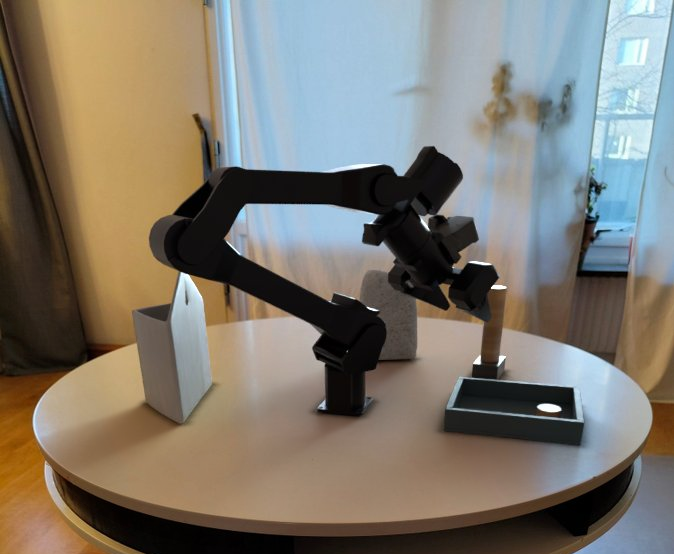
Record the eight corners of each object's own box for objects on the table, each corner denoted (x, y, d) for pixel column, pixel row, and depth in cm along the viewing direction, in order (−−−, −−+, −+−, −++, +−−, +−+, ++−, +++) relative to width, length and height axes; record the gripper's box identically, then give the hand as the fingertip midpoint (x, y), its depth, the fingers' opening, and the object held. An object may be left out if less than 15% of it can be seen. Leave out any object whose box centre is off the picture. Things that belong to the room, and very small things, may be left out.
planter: (163, 383, 97) (145, 257, 89) (212, 384, 97) (199, 257, 89) (125, 423, 83) (100, 276, 74) (183, 424, 82) (164, 276, 74)
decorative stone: (416, 353, 111) (420, 268, 105) (417, 363, 106) (421, 274, 99) (356, 352, 112) (356, 268, 106) (354, 362, 107) (354, 274, 100)
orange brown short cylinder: (556, 428, 78) (559, 413, 77) (533, 424, 79) (534, 409, 78) (561, 420, 80) (563, 405, 80) (537, 416, 82) (539, 402, 81)
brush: (496, 381, 96) (506, 291, 90) (471, 378, 98) (479, 289, 92) (504, 371, 101) (513, 284, 95) (480, 368, 103) (487, 283, 97)
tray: (580, 445, 74) (584, 422, 73) (443, 430, 79) (445, 409, 78) (576, 406, 86) (579, 386, 85) (457, 395, 91) (458, 376, 89)
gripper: (495, 198, 76) (547, 280, 85) (406, 193, 90) (458, 264, 100) (441, 269, 75) (499, 343, 85) (361, 253, 90) (418, 318, 100)
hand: (467, 313), depth 93 cm, fingers open, 9 cm apart
